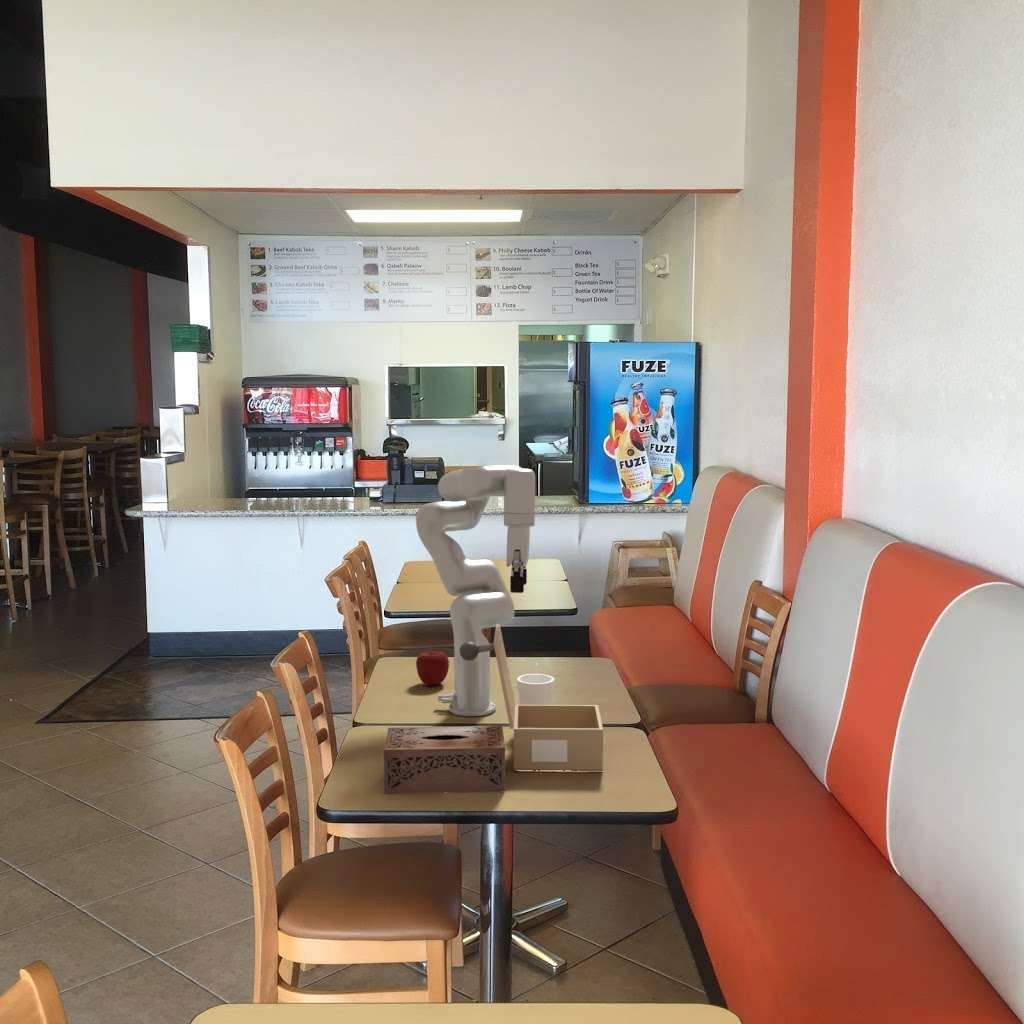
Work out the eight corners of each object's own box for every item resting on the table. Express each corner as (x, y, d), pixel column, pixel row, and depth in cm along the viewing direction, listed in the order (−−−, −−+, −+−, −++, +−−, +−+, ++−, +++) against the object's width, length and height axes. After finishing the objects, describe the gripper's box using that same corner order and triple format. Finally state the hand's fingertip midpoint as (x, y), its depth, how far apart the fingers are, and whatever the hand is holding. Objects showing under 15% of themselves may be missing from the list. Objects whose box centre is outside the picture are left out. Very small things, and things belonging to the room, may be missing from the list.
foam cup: (535, 720, 266) (535, 671, 264) (561, 728, 259) (561, 678, 258) (509, 728, 259) (509, 678, 257) (535, 737, 252) (535, 686, 251)
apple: (420, 679, 304) (420, 646, 302) (452, 680, 302) (451, 647, 301) (413, 688, 294) (412, 654, 293) (445, 689, 293) (445, 655, 292)
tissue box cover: (502, 768, 232) (502, 725, 231) (505, 792, 218) (505, 747, 217) (389, 770, 231) (388, 727, 230) (384, 795, 217) (383, 750, 216)
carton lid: (513, 728, 228) (471, 735, 228) (515, 703, 246) (475, 710, 247) (497, 642, 226) (454, 650, 226) (499, 623, 244) (460, 631, 244)
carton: (513, 772, 229) (513, 729, 228) (515, 744, 247) (515, 704, 246) (602, 772, 229) (603, 729, 228) (597, 745, 247) (597, 705, 246)
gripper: (507, 514, 257) (506, 581, 259) (500, 524, 239) (499, 595, 242) (536, 514, 256) (536, 581, 258) (532, 524, 239) (531, 596, 241)
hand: (518, 588), depth 250 cm, fingers open, 9 cm apart
